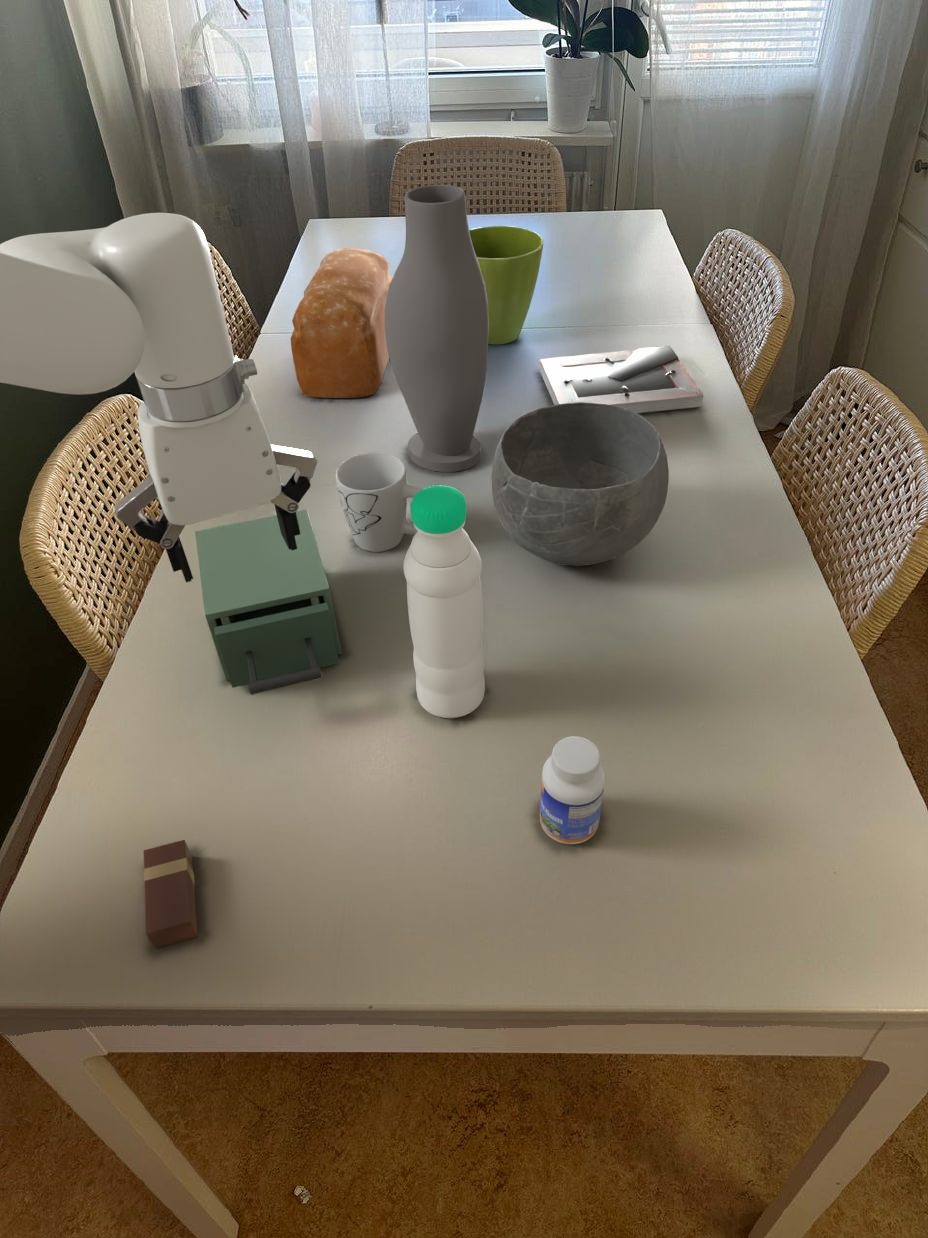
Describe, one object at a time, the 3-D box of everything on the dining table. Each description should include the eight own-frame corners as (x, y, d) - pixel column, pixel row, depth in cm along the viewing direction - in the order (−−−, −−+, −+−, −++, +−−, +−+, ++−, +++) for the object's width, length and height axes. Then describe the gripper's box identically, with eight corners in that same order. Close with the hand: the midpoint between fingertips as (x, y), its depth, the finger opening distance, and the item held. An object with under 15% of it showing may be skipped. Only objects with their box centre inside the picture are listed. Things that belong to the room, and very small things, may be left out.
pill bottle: (529, 806, 80) (531, 739, 73) (582, 788, 81) (589, 720, 74) (555, 855, 76) (559, 789, 69) (610, 835, 77) (619, 768, 71)
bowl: (539, 480, 118) (542, 379, 108) (682, 522, 110) (700, 417, 100) (462, 564, 106) (457, 459, 96) (617, 619, 98) (630, 510, 87)
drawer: (349, 700, 89) (339, 646, 84) (237, 727, 87) (219, 674, 81) (318, 585, 102) (307, 532, 97) (220, 606, 100) (204, 553, 95)
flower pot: (502, 309, 159) (501, 218, 148) (559, 335, 150) (562, 240, 139) (438, 334, 152) (432, 241, 141) (494, 363, 144) (492, 266, 133)
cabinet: (342, 654, 95) (329, 588, 89) (226, 680, 93) (205, 615, 86) (319, 573, 105) (307, 508, 99) (215, 595, 103) (195, 531, 97)
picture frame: (668, 359, 143) (539, 371, 141) (670, 345, 141) (539, 357, 139) (701, 409, 131) (560, 423, 129) (704, 394, 129) (561, 408, 127)
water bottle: (497, 686, 91) (495, 487, 74) (461, 731, 87) (450, 531, 69) (441, 662, 94) (426, 465, 77) (403, 704, 89) (379, 506, 72)
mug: (442, 525, 112) (438, 459, 105) (423, 566, 106) (417, 498, 99) (359, 513, 114) (350, 448, 107) (335, 553, 108) (324, 486, 101)
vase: (386, 470, 121) (356, 207, 98) (419, 424, 130) (399, 172, 106) (475, 485, 118) (467, 215, 94) (503, 436, 127) (502, 179, 103)
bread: (294, 399, 137) (276, 302, 126) (326, 327, 156) (312, 237, 145) (380, 400, 136) (369, 302, 125) (402, 327, 155) (394, 236, 144)
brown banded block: (154, 949, 71) (145, 934, 69) (151, 866, 77) (142, 850, 75) (198, 936, 72) (191, 921, 70) (192, 855, 77) (184, 839, 75)
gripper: (284, 343, 73) (316, 509, 85) (71, 393, 68) (136, 561, 80) (311, 381, 68) (341, 552, 79) (83, 438, 63) (151, 611, 75)
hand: (238, 557), depth 80 cm, fingers open, 9 cm apart
